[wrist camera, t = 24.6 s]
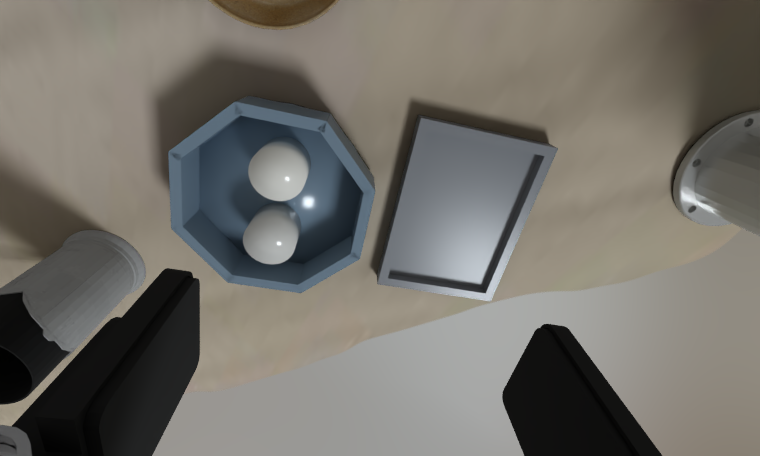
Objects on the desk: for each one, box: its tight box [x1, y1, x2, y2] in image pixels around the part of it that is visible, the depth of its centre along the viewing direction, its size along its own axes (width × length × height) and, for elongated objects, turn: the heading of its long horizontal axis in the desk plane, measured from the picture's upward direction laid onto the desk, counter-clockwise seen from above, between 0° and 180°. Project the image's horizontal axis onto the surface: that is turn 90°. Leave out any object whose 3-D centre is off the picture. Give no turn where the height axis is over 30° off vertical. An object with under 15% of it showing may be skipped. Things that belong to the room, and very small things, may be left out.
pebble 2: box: [243, 203, 301, 264], centre depth 37 cm, size 5×5×4 cm
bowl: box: [168, 96, 375, 293], centre depth 35 cm, size 18×18×5 cm
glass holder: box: [0, 230, 146, 404], centre depth 34 cm, size 9×14×15 cm, turn 106°
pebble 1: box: [248, 137, 311, 201], centre depth 34 cm, size 5×5×4 cm
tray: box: [377, 115, 558, 301], centre depth 39 cm, size 14×19×2 cm
